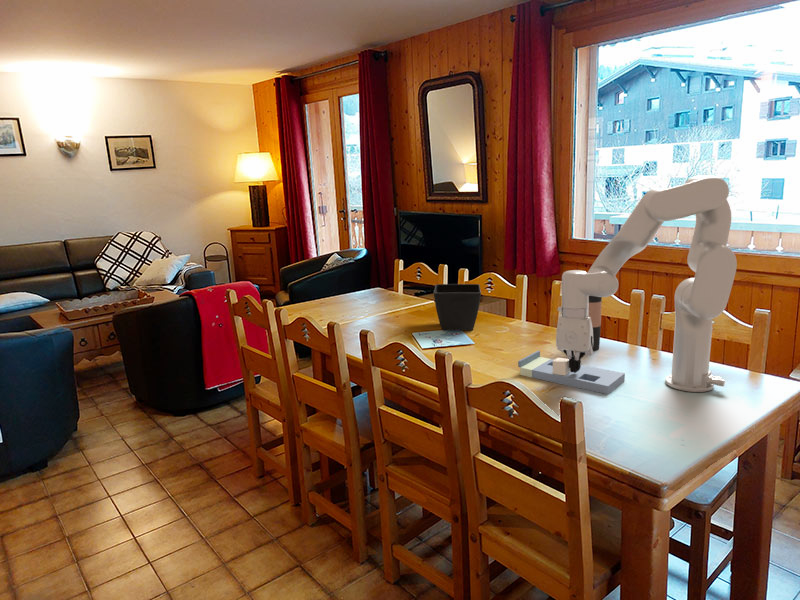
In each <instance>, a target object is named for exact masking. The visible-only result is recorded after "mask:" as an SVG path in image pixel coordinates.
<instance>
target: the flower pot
mask: <svg viewBox="0 0 800 600" xmlns="http://www.w3.org/2000/svg"><path fill="white" fill-rule="evenodd" d="M480 286H481V285H480V284H478V283H476V284H475V283H469V284H468V283H449V284H448V283H441V284H439V283H437V284H435V285H434V290H433V299H434V305H435V310H436V314H437V318H438V322H439V325H440V328H441V330H442V331H473V330H474V327H475V325H476V321H477V318H478V313H479V309H480V303H481V298H482V297H481V295H482V290H481V287H480Z"/></svg>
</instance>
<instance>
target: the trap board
mask: <svg viewBox="0 0 800 600" xmlns="http://www.w3.org/2000/svg"><path fill="white" fill-rule="evenodd" d="M554 360H555V359H553V358H549V357H543V356H541V351H540V350H536V351H534V352H533V353H531V354H528V355H527V356H525V357H523V358H521V359H519V360H517V364H518V365H517V367H518V368H520V372H519V373H520V376H524V377H528V378H531V379H538V380H541V381H546V382H549V383H550V382H552V383H554V384H559V385H563V386H569V387H574V388H578V389H581V390H586V391H590V392H595V393H596V392H597V393H600V394H604V395H609V394H610V393H612V391H613V392H614V390H616V389H617V387H619V386H621V384H623V383H625V381H626V380H625V378H626V373H624V372H619V371H614V370H610V369H605V368H604V369H603V368H601V367H600V368H599V367H595V366H589V365H585V364H584V365H583V364H581V368H580V370H579V371H577V372H576V373H574V372H570V373H568V374H567V375H566V376H564V375H558V374H553V361H554Z"/></svg>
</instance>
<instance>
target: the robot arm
mask: <svg viewBox="0 0 800 600" xmlns="http://www.w3.org/2000/svg"><path fill="white" fill-rule="evenodd" d="M729 192H730V187H729V184H728V183H727V182H726V180H724V179H723V178H722V177H719V176H716V175H705V174H704V175H703V174H702V175H695V176H691V177H690V178H688V179H686V181H685V182H684V184H680V185H676V186H673V187H669V188H660V187H659V188H653V189H650V190H648V191H647V192H646V193H645V194H644V195H643V196H642V197H641V199H640V200H639V202H638V203H637V205H636V206H635V208H634V209H633V211H632V212H631V213H630V215H629V216H628V218H627V219H626V221H625V222H624V223H623V225H622V227H620V229H619V231H618V232H617V234H616V235H614V236H613V237H612V239H611V240H610V242H609V243H608V244H607V245H606V246H605V247H604V248H603V249H602V250H601V251H600V253H599V255H598V256H597V257H596V259H595V260H594V261H593V263H592V265H591V266H590V268H589V270H588V271H586V270H583V269H582V270H580V269H573V270H572V269H571V270H566V271H564V272H563V273H562V275H561V305H560V306H558V307H557V312H560V314H561V315H559V317H558V320H557V325H556V334H555V346H556V349H557V351H559V352H562V353H564V355H565V356H566V357H567V358H566V359H569V368H570V372H574V373H576V372H577V371H579V370H580V368H581V365H582V364H581V362H582V361H581V359H582V358H583V357H584V356H592V355H593V354H594V351H593V350H592V348H593V328H592V322H591V318H590V317H589V316H588V309H589V296H596V297H602V298H608V297H611V296H613V295H614V294H616V293H617V291H618V290H619V280H618V278H617V276H616V275H617V274H618V272H619V271H620V269H621V268H622V267H623V266H624V264H625V263H626V262H627V261H628V260H629V259H630V258H632V257H633V256H635V255H637V254H639V253H642V251H644V249H646V248H647V246H648V245H649V243H650V242H651V240H652V239H653V238H654V237H655V235H656V233H657V232H658V231H659V229H660V228H661V226H662V225H663V223H664V222H670V221H674V220H675V221H676V220H679V219H684V218H687V217H690V216H694V215H695V224H694V225H695V226H694V231H693V236H692V239H691V243H690V246H689V251H688V254H687V265H688V267H689V268H690V270H692V272H694V273H695V274H694V277H690V278H685V279H683V281H681V282H680V283H679V284H678V286H677V287H676V289H675V292H674V314H675V315H674V317H675V319H674V332H673V333H674V335H673V350H672V363H671V374H669V375H668V376H666V377H665V384H666V385H667V386H669V387H670V388H672V389H675V390H678V391H683V392H689V393H704V392H709V391H712V390H713V389H714V387H715V386H718V387H723V388H724V387H725V386H726V385H725V383H726V380H725V379H723V377H720V376H715V375H713V374H712V370H710V369H709V368H710V359H711V358H710V357H711V347H712V337H713V336H712V335H713V319H715V318H718V317H719V316H720V315H721V314H722V313H723V312H724V311H725V309H726V307H727V304H728V303H729V299H730V296H731V291H732V289H733V288H732V287H733V284H734V280H735V276H736V274H737V273H736V272H737V268H738V264H737V263H738V262H737V257H736V254H735V252H734V251H733V250H732V249H731V248H730V247H729V246H727V244H728V239H729V236H730V230H731V226H732V211H731V210H732V209H731V206H730V204H729V202H728V197H729Z"/></svg>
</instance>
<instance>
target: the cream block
mask: <svg viewBox="0 0 800 600" xmlns="http://www.w3.org/2000/svg"><path fill="white" fill-rule="evenodd" d="M568 373H570V368H569V359H568V358H566V357H565V358H563V357H557V358H555V359H554V361H553V374H558V375H564V376H566V375H567V374H568Z"/></svg>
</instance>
